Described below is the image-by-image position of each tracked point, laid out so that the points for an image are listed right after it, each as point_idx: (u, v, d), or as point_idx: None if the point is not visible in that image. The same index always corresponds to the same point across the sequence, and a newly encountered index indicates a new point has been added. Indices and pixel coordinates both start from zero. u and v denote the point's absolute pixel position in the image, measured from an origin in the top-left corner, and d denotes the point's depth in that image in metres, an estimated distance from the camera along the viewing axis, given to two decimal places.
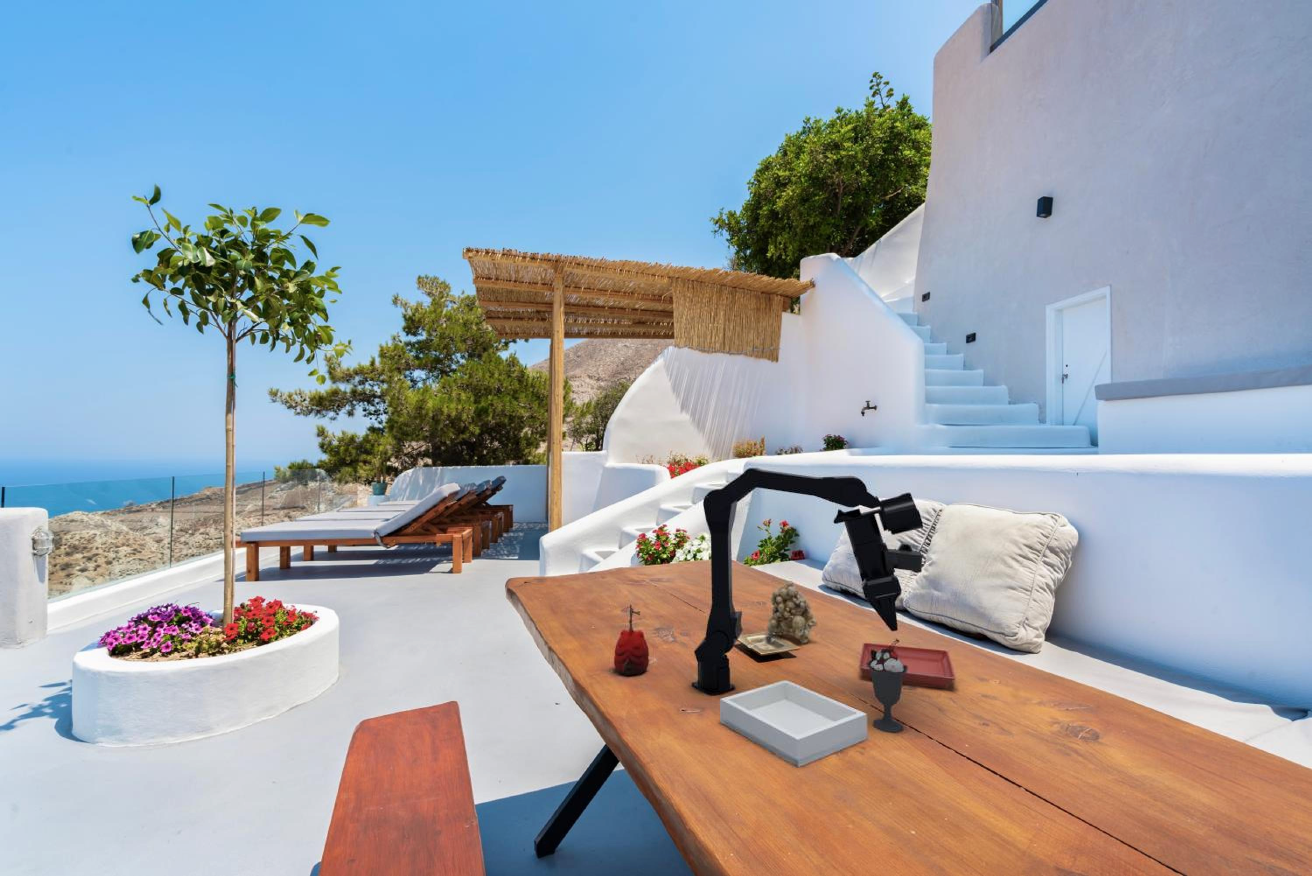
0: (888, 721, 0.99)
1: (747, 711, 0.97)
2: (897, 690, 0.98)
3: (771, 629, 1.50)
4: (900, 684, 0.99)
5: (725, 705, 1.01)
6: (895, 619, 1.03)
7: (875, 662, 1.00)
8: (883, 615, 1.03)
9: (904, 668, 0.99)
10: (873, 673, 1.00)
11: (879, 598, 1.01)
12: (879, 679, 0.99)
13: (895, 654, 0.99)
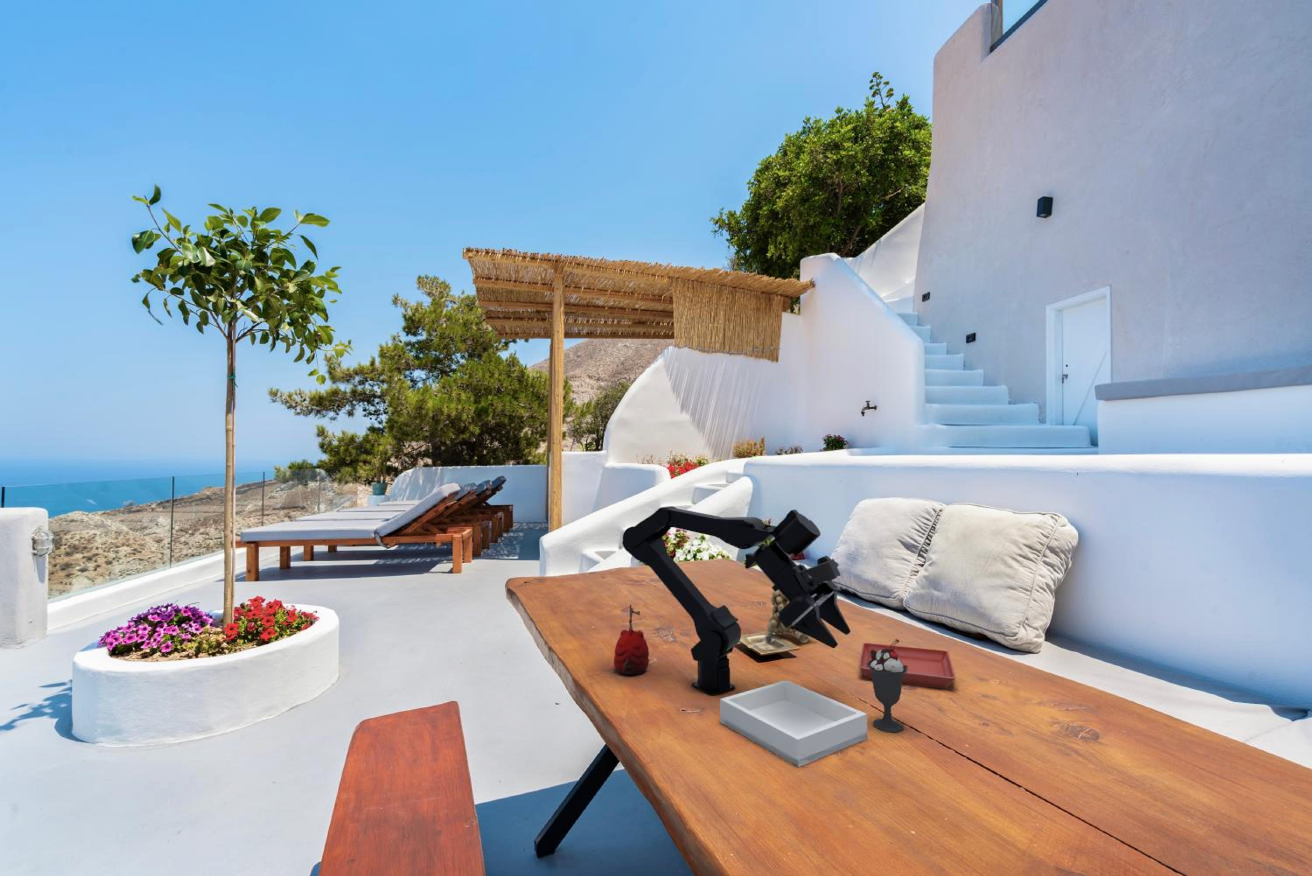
0: (888, 721, 0.99)
1: (747, 711, 0.97)
2: (897, 690, 0.98)
3: (771, 629, 1.50)
4: (900, 684, 0.99)
5: (725, 705, 1.01)
6: (829, 635, 1.01)
7: (875, 662, 1.00)
8: (816, 636, 1.01)
9: (904, 668, 0.99)
10: (873, 673, 1.00)
11: (799, 622, 1.01)
12: (879, 679, 0.99)
13: (895, 654, 0.99)
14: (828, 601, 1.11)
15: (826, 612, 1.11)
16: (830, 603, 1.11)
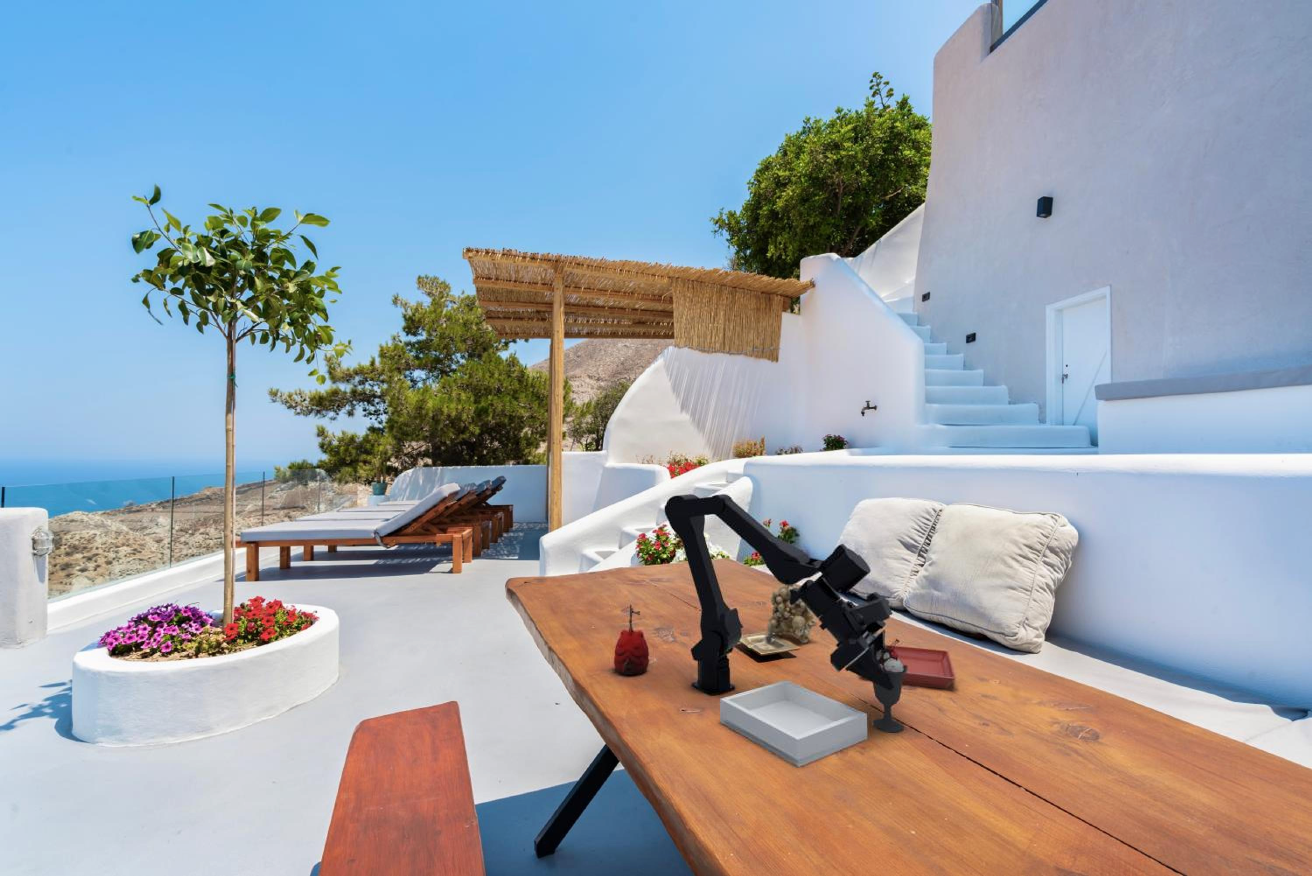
0: (888, 721, 0.99)
1: (747, 711, 0.97)
2: (897, 690, 0.98)
3: (771, 629, 1.50)
4: (900, 684, 0.99)
5: (725, 705, 1.01)
6: (885, 677, 0.97)
7: None
8: (871, 678, 0.98)
9: (904, 668, 0.99)
10: None
11: (854, 663, 0.97)
12: None
13: (895, 654, 0.99)
14: (876, 641, 1.05)
15: None
16: (878, 643, 1.05)
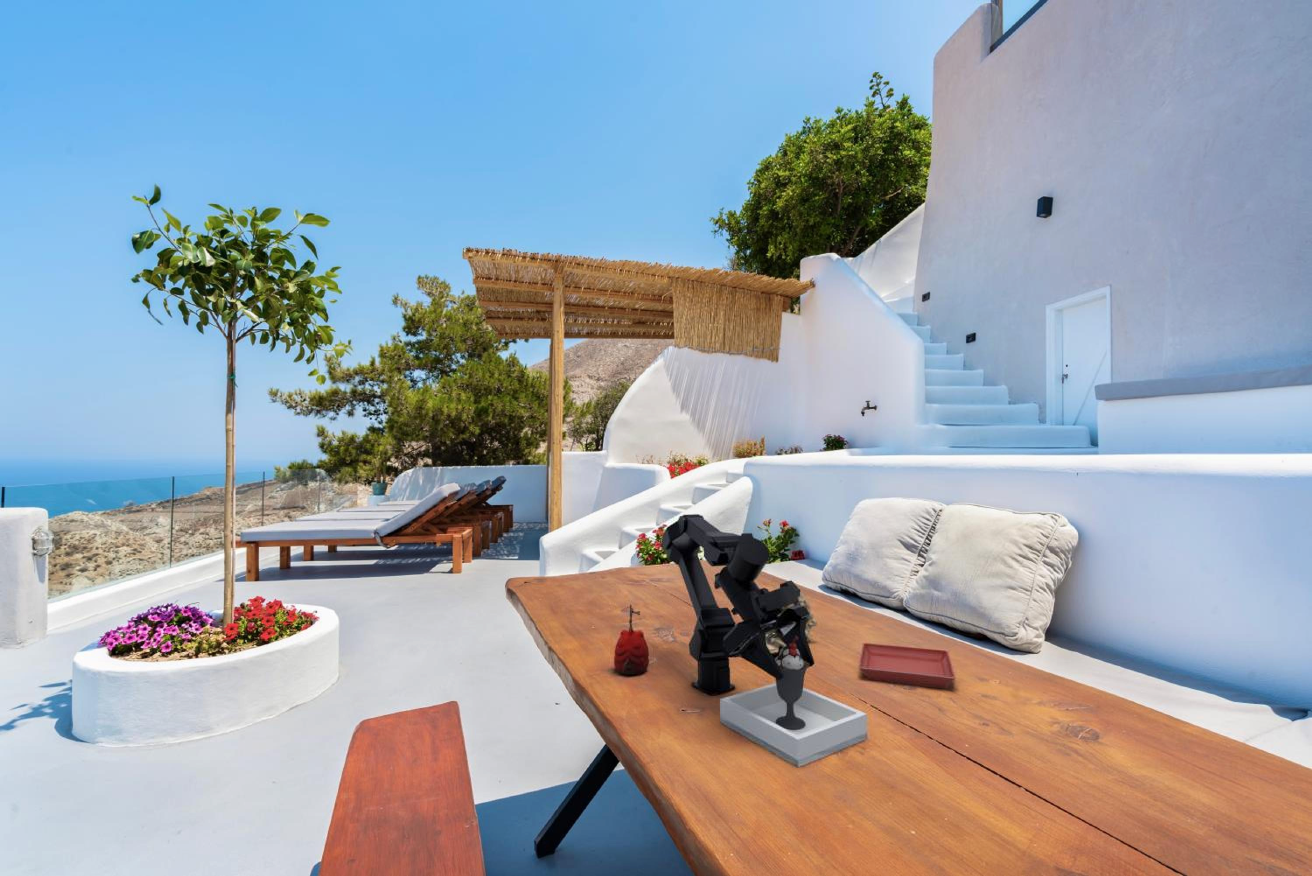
0: (788, 718, 0.98)
1: (747, 711, 0.97)
2: (794, 687, 0.97)
3: None
4: (798, 682, 0.97)
5: (725, 705, 1.01)
6: (773, 666, 0.95)
7: (776, 658, 1.00)
8: (762, 666, 0.96)
9: (804, 666, 0.97)
10: None
11: (742, 649, 0.96)
12: None
13: (793, 651, 0.97)
14: (794, 629, 1.04)
15: (792, 640, 1.04)
16: (796, 631, 1.04)
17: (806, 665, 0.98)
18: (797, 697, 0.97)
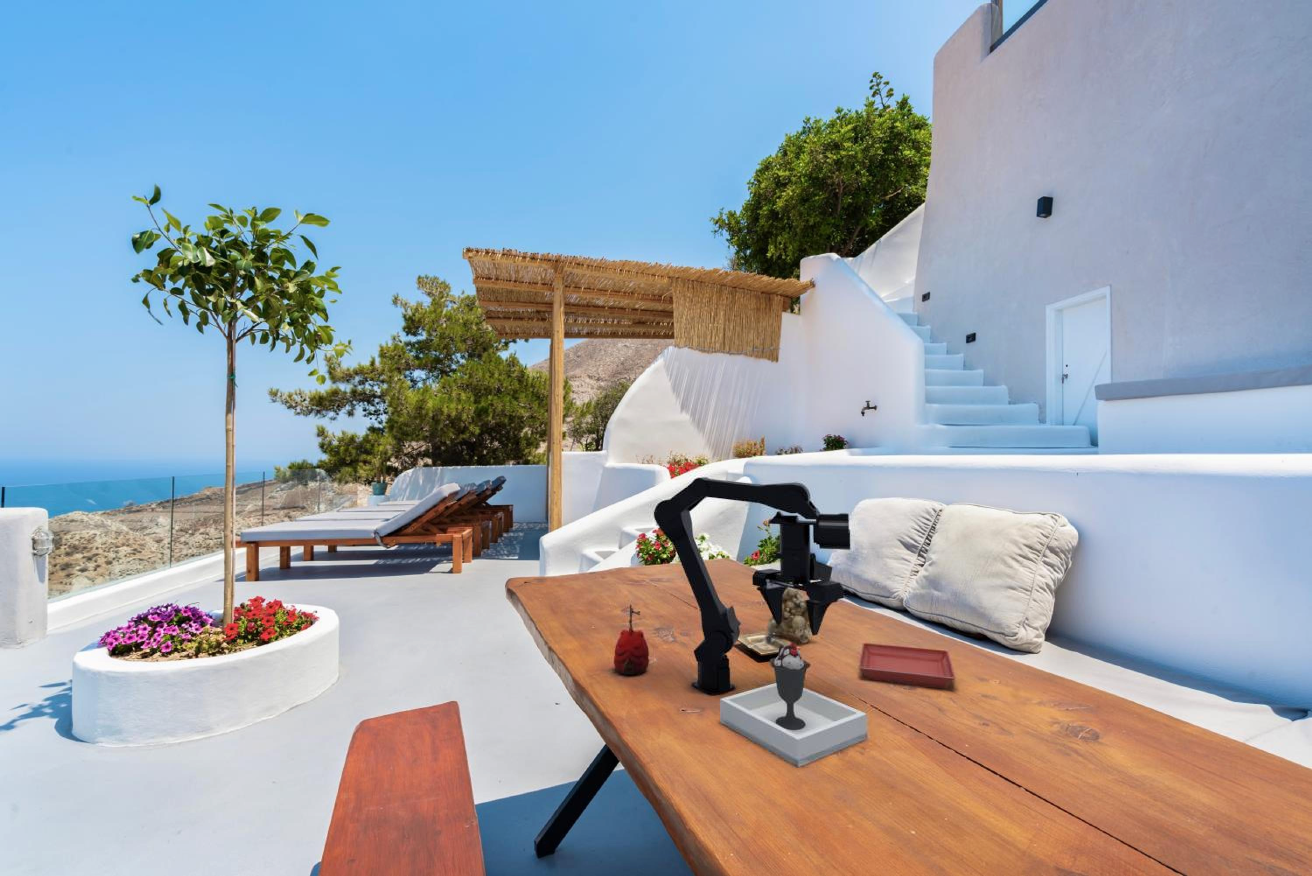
0: (788, 718, 0.98)
1: (747, 711, 0.97)
2: (795, 687, 0.97)
3: (771, 629, 1.50)
4: (799, 682, 0.97)
5: (725, 705, 1.01)
6: (820, 624, 1.09)
7: (777, 658, 1.00)
8: (815, 619, 1.07)
9: (804, 666, 0.97)
10: (774, 668, 0.99)
11: (825, 602, 1.06)
12: (777, 675, 0.98)
13: (794, 651, 0.98)
14: (780, 590, 1.18)
15: (774, 597, 1.17)
16: (780, 592, 1.18)
17: (806, 665, 0.98)
18: (797, 697, 0.97)
